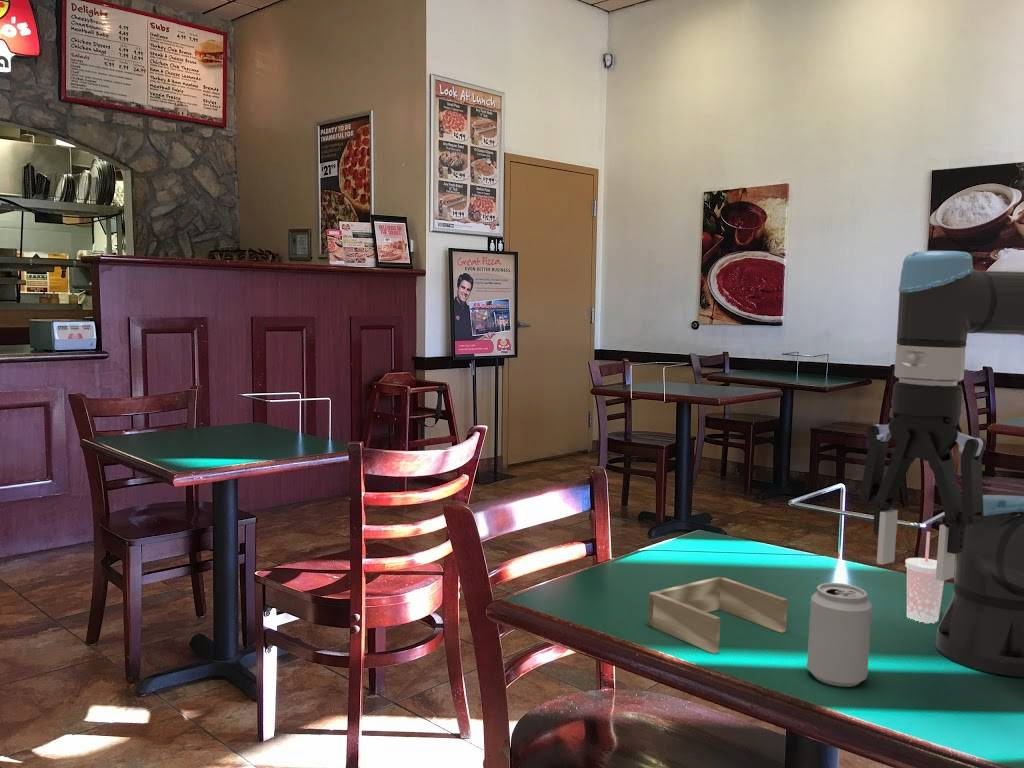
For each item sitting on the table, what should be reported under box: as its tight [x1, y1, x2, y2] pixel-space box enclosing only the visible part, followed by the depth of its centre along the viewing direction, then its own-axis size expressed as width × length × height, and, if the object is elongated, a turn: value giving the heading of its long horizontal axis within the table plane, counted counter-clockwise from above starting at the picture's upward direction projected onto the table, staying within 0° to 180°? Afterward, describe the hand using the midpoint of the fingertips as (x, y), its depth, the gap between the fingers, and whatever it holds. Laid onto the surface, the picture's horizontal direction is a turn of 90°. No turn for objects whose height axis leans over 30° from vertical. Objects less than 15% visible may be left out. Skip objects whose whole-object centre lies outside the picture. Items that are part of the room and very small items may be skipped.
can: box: [806, 582, 873, 688], centre depth 115 cm, size 8×8×12 cm
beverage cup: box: [904, 531, 945, 624], centre depth 139 cm, size 6×6×14 cm
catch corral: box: [647, 575, 788, 655], centre depth 132 cm, size 16×13×5 cm
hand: (914, 569), depth 106 cm, fingers open, 7 cm apart
